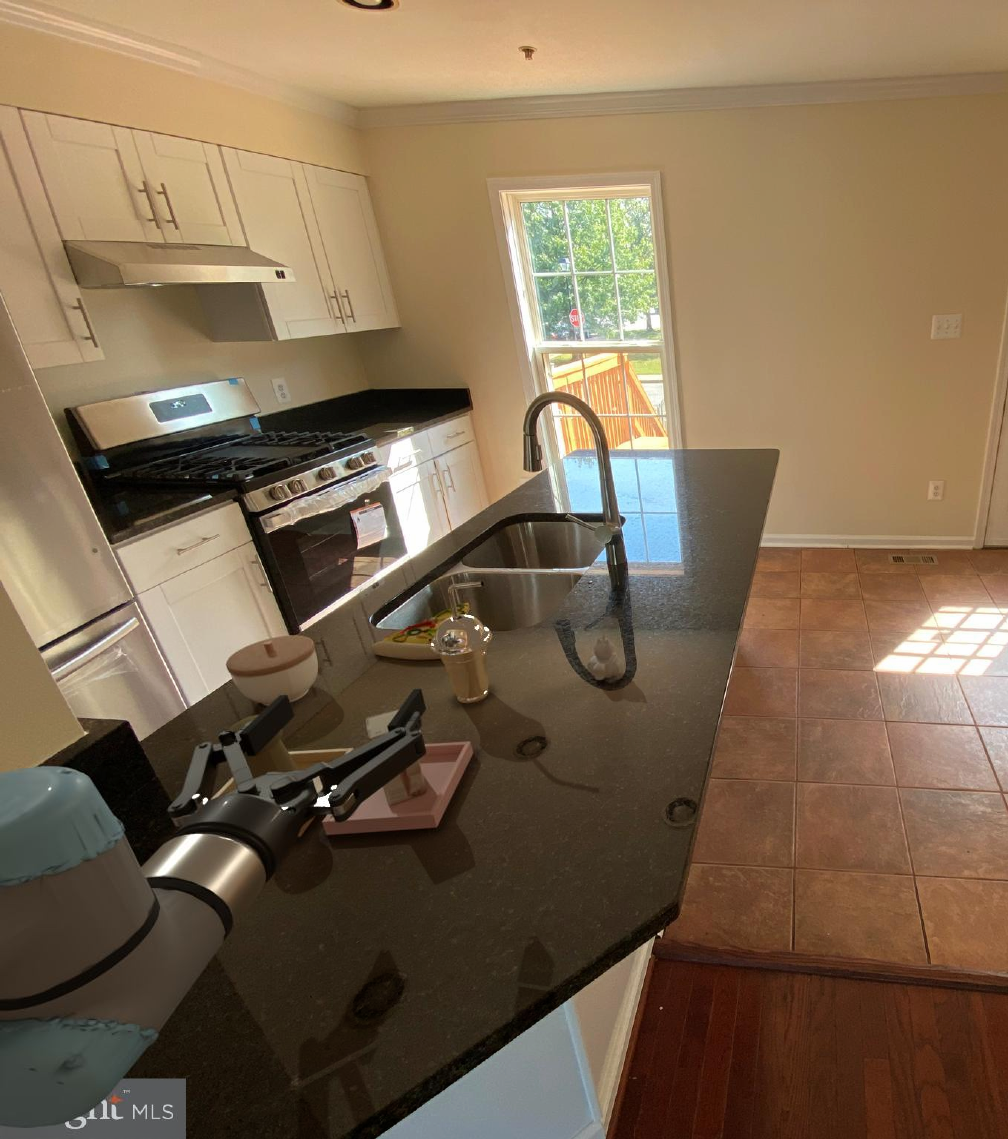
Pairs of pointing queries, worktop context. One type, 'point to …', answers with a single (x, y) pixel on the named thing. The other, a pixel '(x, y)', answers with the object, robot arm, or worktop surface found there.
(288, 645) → the trinket box
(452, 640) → the cup with straw
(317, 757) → the birch tray
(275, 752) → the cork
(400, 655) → the pizza slice
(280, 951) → the worktop surface
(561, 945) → the worktop surface
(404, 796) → the white carton
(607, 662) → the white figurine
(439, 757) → the pink tray
